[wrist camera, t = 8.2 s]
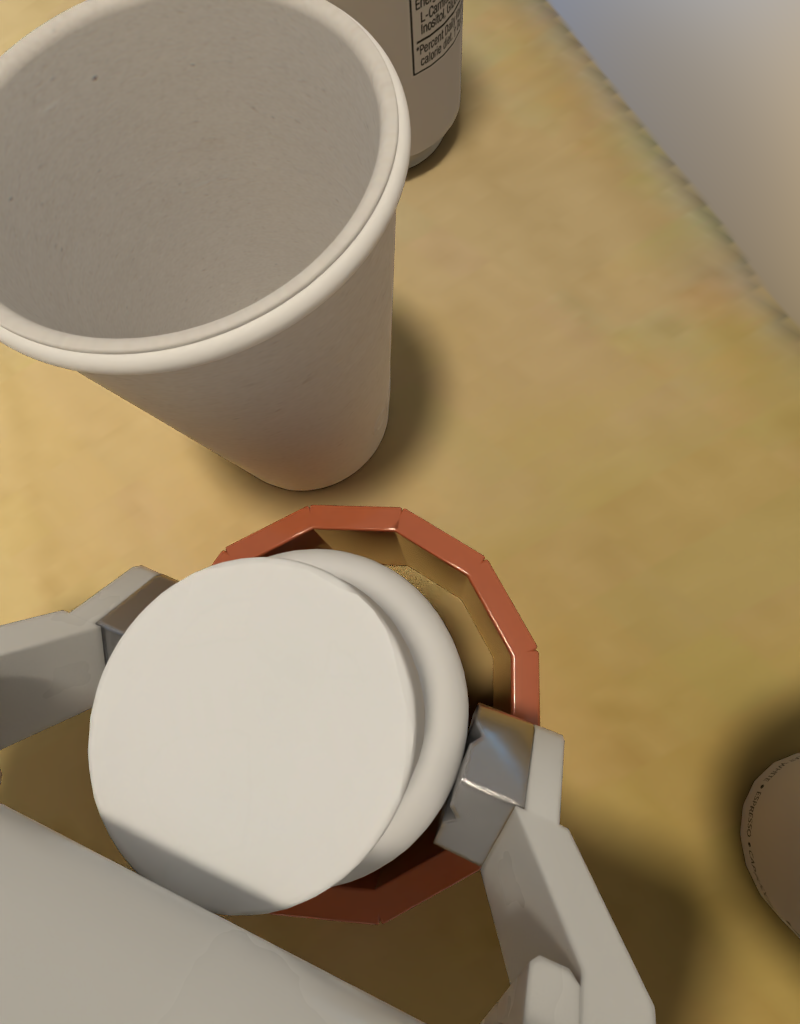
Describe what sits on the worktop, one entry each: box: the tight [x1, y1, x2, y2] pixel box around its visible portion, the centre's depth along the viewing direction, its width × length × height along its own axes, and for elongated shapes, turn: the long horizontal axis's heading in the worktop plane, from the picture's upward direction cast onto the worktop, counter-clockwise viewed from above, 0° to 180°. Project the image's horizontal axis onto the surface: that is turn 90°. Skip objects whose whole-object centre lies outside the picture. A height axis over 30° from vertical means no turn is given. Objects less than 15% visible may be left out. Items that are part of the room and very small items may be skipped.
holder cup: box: [211, 505, 540, 925], centre depth 14 cm, size 8×8×4 cm
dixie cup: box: [0, 0, 411, 491], centre depth 14 cm, size 8×8×10 cm
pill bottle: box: [88, 549, 469, 915], centre depth 11 cm, size 5×5×10 cm
